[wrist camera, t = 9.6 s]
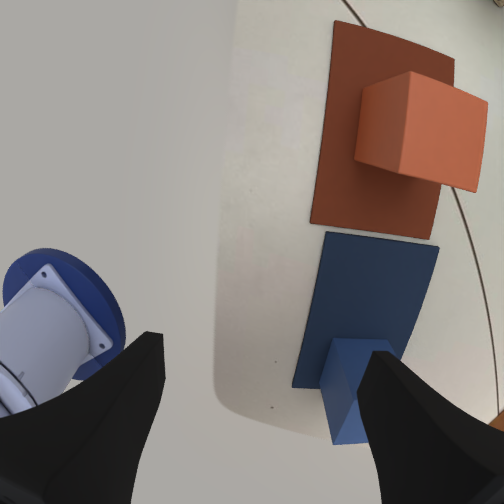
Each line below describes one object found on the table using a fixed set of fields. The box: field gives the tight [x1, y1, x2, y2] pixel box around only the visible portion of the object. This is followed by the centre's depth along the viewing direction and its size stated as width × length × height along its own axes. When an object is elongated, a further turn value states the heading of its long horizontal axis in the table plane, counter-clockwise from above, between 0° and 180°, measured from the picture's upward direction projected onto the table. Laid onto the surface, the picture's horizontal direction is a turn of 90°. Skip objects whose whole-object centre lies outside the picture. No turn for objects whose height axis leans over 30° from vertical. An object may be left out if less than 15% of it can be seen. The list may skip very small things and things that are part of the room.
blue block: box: [319, 338, 397, 445], centre depth 19 cm, size 4×4×6 cm
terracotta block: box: [354, 71, 488, 193], centre depth 13 cm, size 4×4×6 cm
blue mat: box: [292, 231, 440, 389], centre depth 21 cm, size 12×8×1 cm, turn 174°
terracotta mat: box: [310, 20, 455, 240], centre depth 16 cm, size 12×8×1 cm, turn 174°
